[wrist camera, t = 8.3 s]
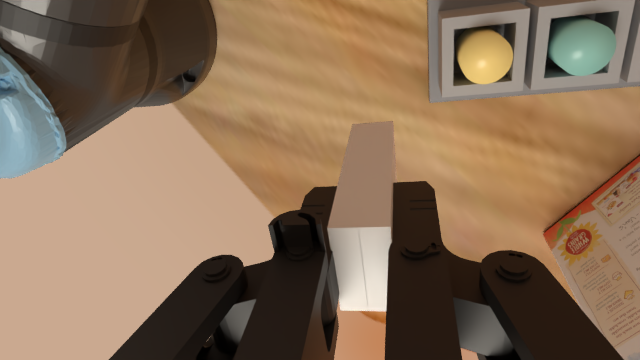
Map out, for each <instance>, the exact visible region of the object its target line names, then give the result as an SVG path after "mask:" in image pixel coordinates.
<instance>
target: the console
mask: <svg viewBox="0 0 640 360" xmlns="http://www.w3.org/2000/svg"><path fill="white" fill-rule="evenodd" d="M427 4H428V63H429V101H430V103H433V102H446V101H458V100H471V99H484V98H496V97H509V96H521V95H534V94H546V93H559V92H572V91H584V90H597V89H609V88H622V87H635V86H640V0H427ZM576 15H581V16H584V17H586V18H588V19H591V20H593V21H596V22H598V23H600V24H603V25H605V26H607V27H609V28H610V29H611V30H612V31H613V33H614V35H615V37H616V49H615V53H614V55H613V57H612V58H611V60H610V61H609V62H608V64H607V65H605V66H604V67H603V68H602V69H600V70H599V71H597V72H595V73H593V74H590V75H586V76H575V75H572V74H569V73H567V72H566V71H565V70H564V69H562V68H561V67H560V66H558V65H557V64H556V63H555V62H553V61H552V60H551V59H550V58H548V57H547V56H546V55H547V47H548V38H549V29H550V24H551V23H553V22H554V21H555V20H556V19H558V18H560V17H568V16H576ZM479 26H490V27H492V28H493V29H495V30H496V31H497V32H498V33H499V34H500V35H501V36H502V37H503V38H504V39H505V40H506V41H507V42H508V43H509V44H510V46H511V48H512V51H513V61H512V64H511V67H510V69H509V70H508V72H507V73H506V74H505V75H504V76H503V77H502V78H501V79H499V80H497V81H496V82H493V83H490V84H477V83H474V82H472V81H470V80H469V79H467V78H466V76H465V75H464V73H463V71H462V69H461V67H460V65H459V63H458V61H457V59H456V56H455V44H456V41H457V39H458V38H459V36H460V35H461V34H462V33H463V32H464V31H465V30H466V29H468V28H471V27H479Z"/></svg>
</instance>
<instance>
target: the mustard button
mask: <svg viewBox="0 0 640 360" xmlns="http://www.w3.org/2000/svg"><path fill="white" fill-rule="evenodd" d="M455 56H456V59H457V61H458V63H459V65H460V67H461V69H462V71H463V73H464V75H465V76H466V78H467V79H469V80H470V81H472V82H474V83H477V84H490V83H493V82H496V81H497V80H499V79H501V78H502V77H503V76H504V75H505V74H506V73H507V72H508V70H509V69H510V67H511V64H512V61H513V51H512V48H511V46H510V44H509V43H508V42H507V41H506V40H505V39H504V38H503V37H502V36H501V35H500V34H499V33H498V32H497V31H496V30H495V29H493V28H492V27H490V26H479V27H471V28H468V29H466V30H465V31H464V32H463V33H462V34H461V35H460V36H459V38H458V39H457V41H456V44H455Z"/></svg>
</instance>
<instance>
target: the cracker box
mask: <svg viewBox="0 0 640 360" xmlns="http://www.w3.org/2000/svg"><path fill="white" fill-rule="evenodd" d="M543 235H544V237H545V240H546V242H547V243H548V245H549V247H550V249H551V251H552V253H553V255H554V257H555V259H556V261H557V263H558V265H559V267H560V269H561V271H562V273H563V275H564V277H565V279H566V281H567V283H568V285H569V287H570V289H571V291H572V293H573V295H574V297H575V299H576V301H577V302H578V304H579V306H580V308H581V309H582V310H583V312H584V313H585V314H586V315H587V316H588V318H589V319H590V320H591V321H592V322H593V323H594V325H595V326H596V327H597V328H598V329H599V331H600V332H601V333H602V334H603V335H604V336H605V338H606V339H607V340H608V341H609V342H610V344H611V345H612V346H613V347H614V348H615V349H616V351H617V352H618V353H619V354H620V355H621V357H622V358H623V359H624V360H640V156H639V157H638V158H636V159H635V160H634V161H633V162H631V163H630V164H629V165H628V166H626V167H625V168H624V169H623V170H622V171H620V172H619V173H618V174H617V175H615V176H614V177H613V178H612V179H610V180H609V181H608V182H607V183H605V184H604V185H603V186H602V187H601V188H599V189H598V190H597V191H595V192H594V193H593V194H592V195H591V196H589V197H588V198H587V199H586V200H584V201H583V202H582V203H581V204H579V205H578V206H577V207H576V208H575V209H573V210H572V211H571V212H570V213H568V214H567V215H566V216H565V217H563V218H562V219H561V220H560V221H558V222H557V223H556V224H555V225H553V226H552V227H551V228H550V229H548V230H547V231H546V232H545V233H544V234H543Z"/></svg>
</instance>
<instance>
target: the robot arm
mask: <svg viewBox="0 0 640 360" xmlns="http://www.w3.org/2000/svg"><path fill="white" fill-rule="evenodd" d="M216 45H217V34H216V25H215V20H214V16H213V12H212V9H211V6H210V4H209V2H208V0H0V178H14V177H18V176H21V175H23V174H26V173H28V172H30V171H32V170H35V169H37V168H39V167H41V166H43V165H45V164H47V163H51V162H53V161H55V160H57V159H59V158H60V157H61V156H62V155H63V153H64V152H66V151H67V150H68V149H70V148H72V147H73V146H75V145H76V144H78V143H79V142H81V141H83V140H84V139H86V138H87V137H89V136H90V135H92V134H93V133H95V132H96V131H98V130H99V129H101V128H102V127H104V126H105V125H107V124H109V123H110V122H112V121H113V120H115V119H116V118H118V117H119V116H121V115H123V114H124V113H126V112H127V111H129V110H130V109H132V108H133V107H146V106H160V105H165V104H169V103H172V102H175V101H177V100H179V99H181V98H183V97H184V96H186V95H187V94H189V93H190V92H191V91H193V90H194V89H195V88H197V87H198V86H199V85H200V84H201V83H202V82H203V81H204V79H205V78H206V76H207V75H208V73H209V71H210V69H211V67H212V64H213V61H214V58H215V53H216ZM268 227H269V231H270V235H271V239H272V243H273V248H274V252H275V253H274V255H273V258H272V259H271V260H269V261H265V262H262V263H258V264H254V265H250V266H246V267H244V266H243V262H242V261H241V260H240V259H239V258H238V257H235V256H232V255H219V256H216V257H212V258H210V259H207V260H206V261H203V262H202V263H201V264H199V266H197V267H196V268H195V269H194V270H193V271H192V272H191V273H190V274H189V275H188V276H187V277H186V278H185V279H184V280H183V281H182V283H181V284H180V285H179V286H178V287H177V288H176V289H175V290H174V291H173V292H172V293H171V294H170V295H169V296H168V297H167V298H166V299H165V301H164V302H163V303H162V304H161V305H160V306H159V307H158V308H157V309H156V310H155V312H153V313H152V314H151V316H149V318H148V319H147V320H146V321H145V322H144V323H143V324H142V325H141V326H140V327H139V328H138V329H137V330H136V332H134V333H133V335H132V336H131V337H130V338H129V339H128V340H127V341H126V342H125V343H124V344H123V345H122V346H121V347H120V349H118V350H117V352H116V353H115V354H114V355H113V356H112V357H111V358H110V359H109V360H334V354H335V348H336V340H337V334H338V327H339V326H338V317H337V304H338V299H339V303H340V309H341V310H346V311H386V337H385V360H462V356H461V348H464V349H467V350H470V351H473V352H476V353H477V356H478V359H479V360H624V359H623V358H622V357H621V355H620V354H619V353H618V352H617V351H616V349H615V348H614V347H613V346H612V345H611V344H610V342H609V341H608V340H607V339H606V338H605V336H604V335H603V334H602V333H601V332H600V331H599V329H598V328H597V327H596V326H595V325H594V323H593V322H592V321H591V320H590V319H589V318H588V316H587V315H586V314H585V313H584V312H583V310H582V309H581V308H580V307H579V306H578V304H577V303H576V302H575V301H574V300H573V299H572V297H571V296H570V295H569V294H568V293H567V291H566V290H565V289H564V288H563V287H562V286H561V284H560V283H559V282H558V281H557V280H556V278H555V277H554V276H553V275H552V274H551V273H550V271H549V270H548V269H547V268H546V267H545V265H544V264H542V263H541V262H540V261H539V260H538V259H536V258H535V257H532V256H530V255H528V254H526V253H523V252H517V251H512V250H507V251H497V252H494V253H491V254H489V255H487V256H486V257H485V258H484V259H482V262H481V263H480V262H475V261H470V260H467V259H463V258H460V257H458V256H456V255H454V254H452V253H451V252H450V251H448V250H447V249H446V247H445V246H444V245H443V242H442V239H441V232H440V225H439V218H438V211H437V204H436V198H435V191H434V189H433V188H432V187H431V186H430V185H429V184H428V183H427V182H426V181H419V182H397V175H396V159H395V144H394V128H393V121H388V122H375V123H362V124H352V128H351V132H350V136H349V140H348V144H347V149H346V153H345V157H344V161H343V165H342V169H341V173H340V177H339V182H338V186H332V187H314V188H313V189H312V190H311V191H310V192H309V193H308V194H307V195H306V196H305V198H304V201H303V203H302V207H301V209H300V210H295V211H289V212H286V213H283V214H281V215H279V216H277V217H276V218H274V219H273V220H272V221H271V223H270V224H269V225H268ZM210 336H211V337H210ZM209 337H210V338H209ZM207 340H208V341H207ZM206 341H207V342H206Z"/></svg>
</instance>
